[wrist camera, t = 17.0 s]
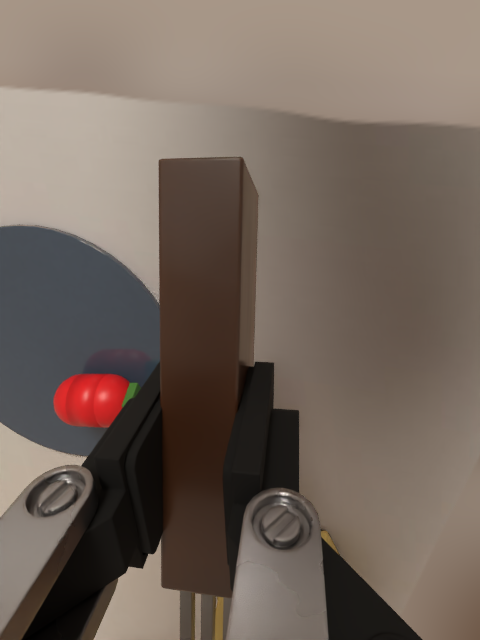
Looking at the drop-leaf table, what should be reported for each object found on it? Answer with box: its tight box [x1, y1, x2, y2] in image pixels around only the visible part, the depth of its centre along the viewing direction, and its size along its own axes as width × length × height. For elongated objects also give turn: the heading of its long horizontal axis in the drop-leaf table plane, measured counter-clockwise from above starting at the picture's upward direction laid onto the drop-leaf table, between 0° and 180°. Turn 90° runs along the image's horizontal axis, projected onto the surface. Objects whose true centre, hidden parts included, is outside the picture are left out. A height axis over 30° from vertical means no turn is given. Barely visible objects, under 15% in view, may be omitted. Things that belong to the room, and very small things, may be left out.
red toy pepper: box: [53, 374, 141, 428], centre depth 24 cm, size 4×6×4 cm, turn 95°
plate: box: [0, 225, 160, 456], centre depth 26 cm, size 19×19×1 cm
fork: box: [159, 157, 259, 640], centre depth 10 cm, size 3×16×3 cm, turn 1°
